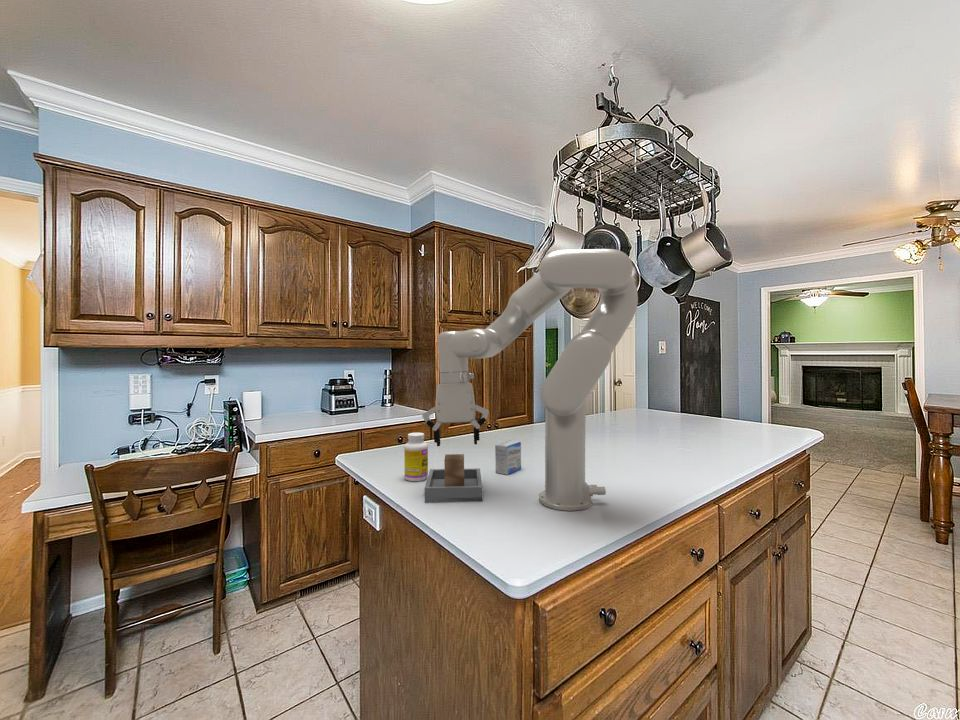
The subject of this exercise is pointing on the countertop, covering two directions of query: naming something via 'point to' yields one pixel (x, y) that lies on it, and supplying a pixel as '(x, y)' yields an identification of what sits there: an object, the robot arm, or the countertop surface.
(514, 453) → the medicine box
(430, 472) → the tray
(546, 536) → the countertop surface
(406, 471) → the supplement bottle
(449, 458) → the walnut block
